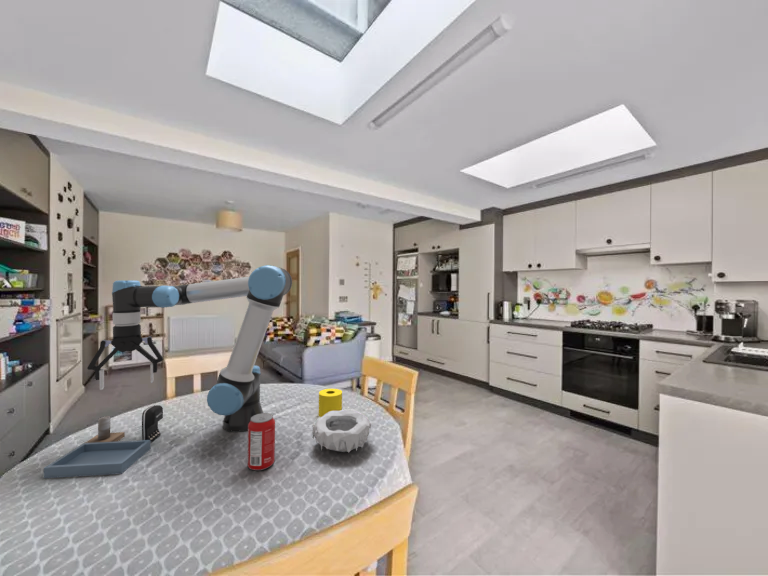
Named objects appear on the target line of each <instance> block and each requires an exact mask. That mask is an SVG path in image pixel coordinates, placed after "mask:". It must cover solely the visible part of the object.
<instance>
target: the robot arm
mask: <svg viewBox="0 0 768 576" xmlns="http://www.w3.org/2000/svg"><path fill="white" fill-rule="evenodd" d="M292 286H293V279H292V276H291V274H290V273H289V271H288V270H286V269H284V268H282V267H278V266H275V265H267V264H266V265H262V266H259V267H257V268H255V269H254V270H253V271H252V272H251V273H250V275H249V276H245V277H244V276H243V277H236V278H229V279H220V280H214V281H213V280H212V281H205V282H198V283H189V284H188V283H187V284H181V285H141V281H139V280H129V279H128V280H119V279H118V280H114V281H113V282H112V291H111V295H112V297H111V298H112V324H113V327H112V339H111V340H107V339H103V340H101V341H100V343H99V348H98V350H97V352H96V353H95V354H94V356H93V358H92V360H91V361H90V363H89V364H88V366H87V370H91V371H94V378H95V381H99V391H102V390H104V389H105V368H103V366H104V365H105V364H106V363H108V361H110V360H111V358H113V356H114V355H116V354H117V353H118V352H120V353H125V352H134V351H137V352H138V353H140V354H141V355H142V356H143V357H145V359H147V360H148V361H149V362H151V363H150V367H149V368H150V370H149V371H150V372H149V373H150V376H149V378H150V384H153V383H154V374H155V373H157V372H158V364H159V363H161V362H163V361H164V357H163V356H162V354H161V353H160V351H159V350H158V348H157V346H156V345H155V343H154V342H153V337H152V336H150V335H149V336H148V337H142V326H141V324H140V323H142V321H141V315H142V313H141V308H162V309H163V308H164V309H165V308H173V307H175V306H184V305H190V304H196V303H202V302H210V301H211V302H212V301H220V300H226V299H235V298H240V297H246V300H247V302H248V306H247V309H246V312H245V314H244V317H243V320H242V323H241V325H240V328H239V332H238V334H237V337H236V340H235V343H234V346H233V348H232V350H231V354H230V356H229V360H228V362H227V365H226V367H224V368H222V369H221V370H220V371H219V373H218V377H217V379H216V382H215V384H214V385H213V386H212V387H211V388H210V390H208V393H207V395H206V403H207V406H208V407H209V409H210V410H211V411H212V412H213V413H215V414H216V415H219V416H224V417H223V420H222V428H223V429H224V430H225V431H227V432H233V433H234V432H238V433H239V432H246V431H248V423H249V422H250V420H251V417H252V416H254V415H257V414H261V413H264V411H263V408H262V405H261V394H260V393H261V374H262V373H261V368H260V366H259V365H255V364H256V362H257V358H258V355H259V353H260V349H261V347H262V345H263V342H264V338H265V335H266V332H267V330H268V327H269V325H270V321H271V318H272V316H273V312H274V311H275V310H276V309H279V308H280V307H281V303H282V300H283V298H284V296H286V295H287V294H288V293H289V292H290V291H291V289H292ZM143 342H144V343H145V344H147V345H148V346H149V348H150V349H151V351H152V353H153V354H154V355H155V357H156V358H155V357H154V356H153V355H152V354H150V352H149V351H147V350H145V349H144V347H142V346H141V344H142V343H143ZM109 345H112V346H113V348H114V349H113V350H112V351H110V353H108V355H106V357H105V358H104V359H103V360H102V361H100V362H99V364H98V365H97V362H98V361H99V359H100V358H101V356H102V354H103V352H104V351H105V349H106V348H107V347H109Z"/></svg>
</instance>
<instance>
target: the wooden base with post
mask: <svg viewBox="0 0 768 576" xmlns="http://www.w3.org/2000/svg"><path fill="white" fill-rule="evenodd" d="M125 435H126V432H125V431H122V432H121V431H120V432H117V431H116V432H111V416H110V415H105V416H102V417H99V418H98V419H97V435H95V436H93V437H92V438H90V439H88V440H87V441H85V442H84V443H95V442H116V441H120V440H121V441H122V439H124V438H125Z"/></svg>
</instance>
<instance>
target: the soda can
mask: <svg viewBox="0 0 768 576" xmlns="http://www.w3.org/2000/svg"><path fill="white" fill-rule="evenodd" d="M275 453H276V420H275V418H274V414H272V413H270V412H269V413H267V412H263V413H261V414H257V415H254V416H252V417H251V420H250V422H249V423H248V430H247V467H248V468H249V469H250V470H252V471H262V470H263V471H264V470H266V469H268V468H270V467H271V466H272V465H274V463H275V459H276V458H275V457H276V455H275Z"/></svg>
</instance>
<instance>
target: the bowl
mask: <svg viewBox="0 0 768 576" xmlns="http://www.w3.org/2000/svg"><path fill="white" fill-rule="evenodd" d="M371 428H372V423H371V422H370V419H369V417H368V416H366V414H364V413H362V412H360V411H358V410H356V409H354V408H350V409H349V408H345V409H343V408H342V410H340V411H329V412H328V413H326V414H325V415H324V416H322V417H320V416H318V417H317V418H316V420H315V423H314V424H313V425H312V432H311V433H312V437H311V439H313V440H314V438H315V441H316V443H318V444H319V445H320V449H321V451H323V450H322V449H323V447H325V449H326V450H331V451H335V452H341V453H342V452H343V453H345V452H348V453H347V454H349V453H350V452H351V451H352V450H355V451H356V452H357V450H358V448H359V447H361V450H362V449H363V448H364V445H365V444H366V442H368V437H369V435H370V429H371Z"/></svg>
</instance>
